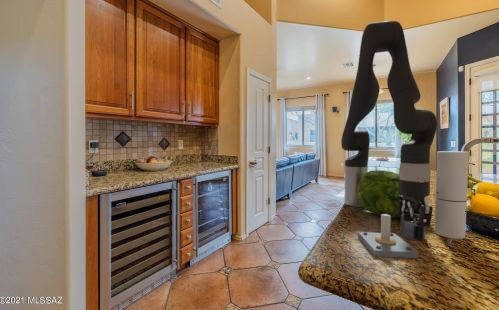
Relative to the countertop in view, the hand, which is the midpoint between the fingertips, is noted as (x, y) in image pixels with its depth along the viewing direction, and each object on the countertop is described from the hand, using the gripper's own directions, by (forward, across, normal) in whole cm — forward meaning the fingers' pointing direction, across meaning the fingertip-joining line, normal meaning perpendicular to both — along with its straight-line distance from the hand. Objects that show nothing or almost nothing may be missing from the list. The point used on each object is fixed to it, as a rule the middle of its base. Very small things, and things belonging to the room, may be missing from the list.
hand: (412, 234), depth 71 cm
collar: (0, 0, 0) cm, 0 cm away
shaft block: (0, +8, -11) cm, 14 cm away
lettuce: (+1, -20, +3) cm, 20 cm away
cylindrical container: (+1, -3, +12) cm, 12 cm away
